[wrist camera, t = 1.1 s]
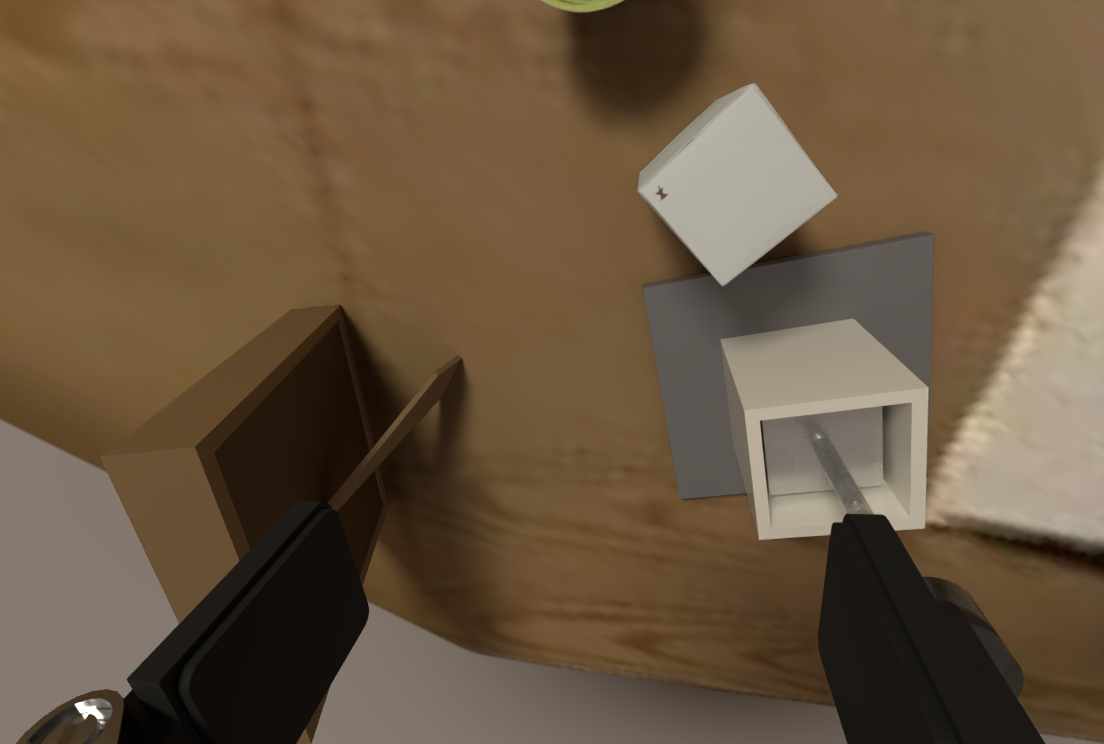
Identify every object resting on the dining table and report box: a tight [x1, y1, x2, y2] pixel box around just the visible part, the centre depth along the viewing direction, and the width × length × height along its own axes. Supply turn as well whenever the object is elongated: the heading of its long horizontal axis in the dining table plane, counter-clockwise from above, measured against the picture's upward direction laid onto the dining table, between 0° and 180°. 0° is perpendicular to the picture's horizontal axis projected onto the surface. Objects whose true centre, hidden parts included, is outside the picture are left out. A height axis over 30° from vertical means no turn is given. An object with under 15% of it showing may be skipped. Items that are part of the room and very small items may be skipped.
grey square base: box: [643, 232, 934, 540], centre depth 38 cm, size 20×20×13 cm
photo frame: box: [100, 305, 462, 744], centre depth 41 cm, size 15×22×25 cm
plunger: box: [761, 406, 1023, 698], centre depth 28 cm, size 7×7×17 cm
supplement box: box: [638, 83, 837, 286], centre depth 33 cm, size 7×7×13 cm
